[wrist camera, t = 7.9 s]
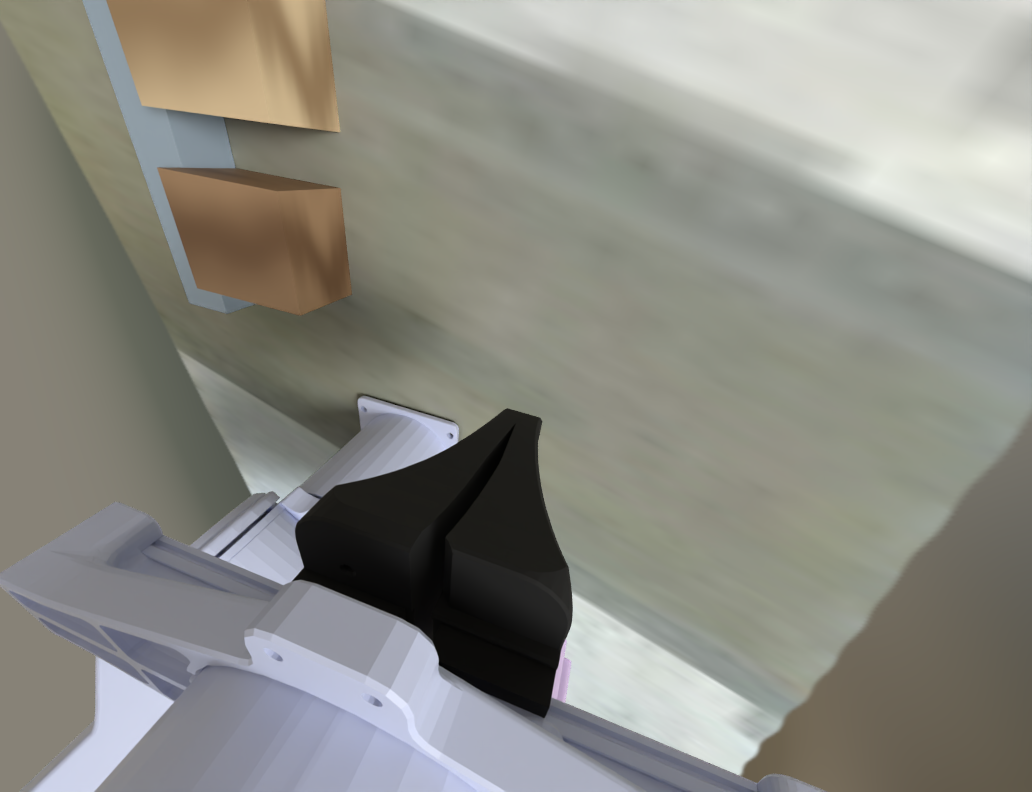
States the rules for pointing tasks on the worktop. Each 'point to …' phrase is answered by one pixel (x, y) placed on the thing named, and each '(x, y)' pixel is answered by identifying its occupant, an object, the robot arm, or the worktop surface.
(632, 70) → the worktop surface
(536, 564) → the robot arm
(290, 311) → the walnut block
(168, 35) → the oak block
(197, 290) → the batten
